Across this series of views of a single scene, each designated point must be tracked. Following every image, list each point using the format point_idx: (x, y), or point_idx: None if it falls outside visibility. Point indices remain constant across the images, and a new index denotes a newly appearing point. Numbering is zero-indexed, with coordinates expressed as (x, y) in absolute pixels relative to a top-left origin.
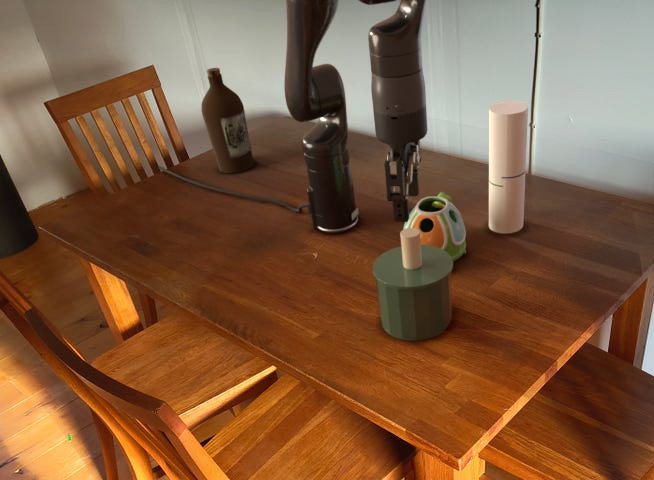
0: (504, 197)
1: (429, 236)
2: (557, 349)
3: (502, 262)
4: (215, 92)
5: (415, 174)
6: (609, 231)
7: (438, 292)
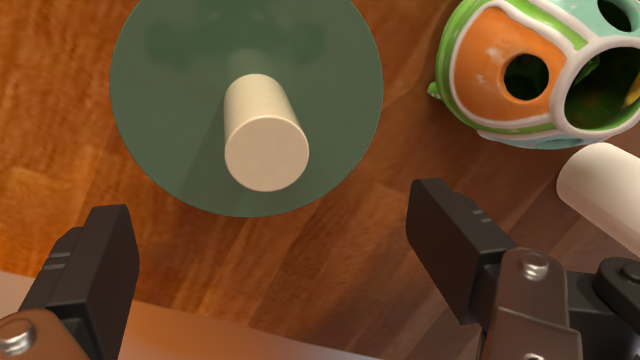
0: (628, 223)
1: (487, 83)
2: (197, 311)
3: (462, 190)
4: None
5: (465, 316)
6: None
7: None
